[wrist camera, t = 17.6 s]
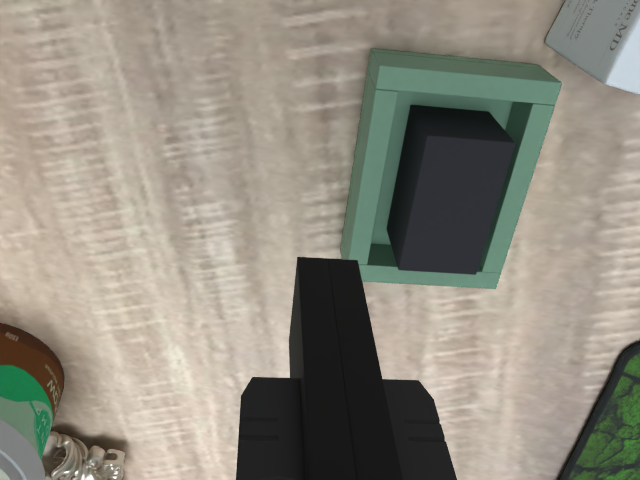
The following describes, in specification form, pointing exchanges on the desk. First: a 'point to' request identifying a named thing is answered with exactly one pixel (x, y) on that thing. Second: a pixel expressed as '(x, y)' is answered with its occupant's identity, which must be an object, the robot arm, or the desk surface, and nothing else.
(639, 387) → the mouse mat
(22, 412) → the food container
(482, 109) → the green open tray
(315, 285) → the robot arm
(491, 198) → the black rectangular block
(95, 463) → the ornament
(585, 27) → the product box
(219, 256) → the desk surface
